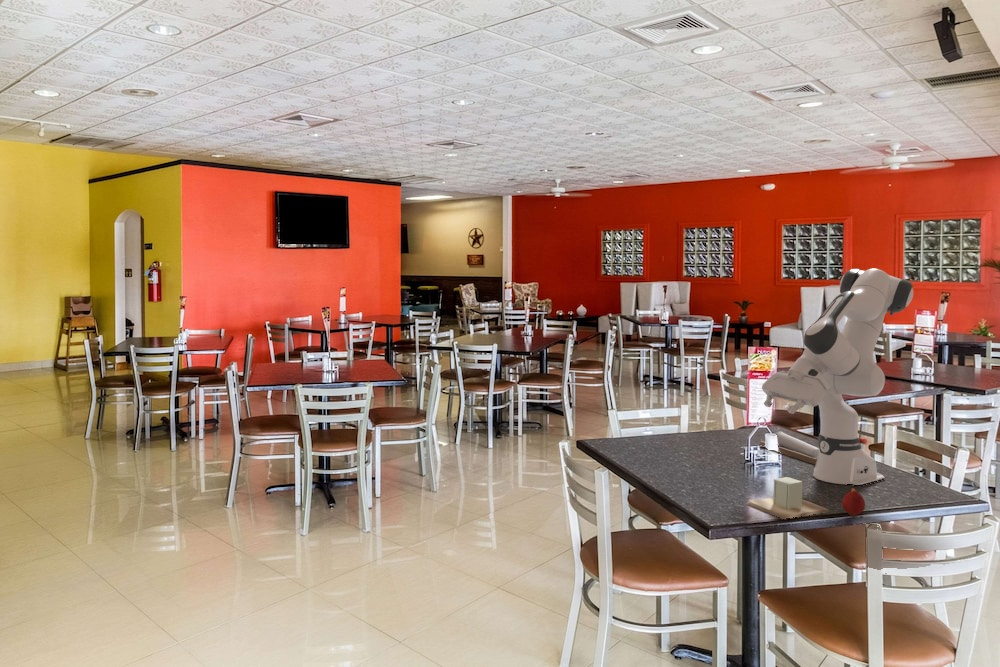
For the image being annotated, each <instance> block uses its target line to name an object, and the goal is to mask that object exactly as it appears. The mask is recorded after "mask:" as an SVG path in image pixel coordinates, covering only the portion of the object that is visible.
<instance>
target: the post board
mask: <svg viewBox="0 0 1000 667" xmlns="http://www.w3.org/2000/svg"><path fill="white" fill-rule="evenodd" d="M747 504H748V505H749V506H751V507H753V508H756V509H758V510H760V511H763V512H765V513H766V514H769V513H770V514H769V515H771V514H772V516H774V515H775V516H774V517H776V516H777V517H776V518H778V517H780V518H782V519H781V520H783V519H784V520H787V519H786V518H790V519H795V517H797V518H802V517H808V516H809V515H810V516H814V515H813V514H816V515H820V514H819V513H823V512H828V513H829V510H828V508H826V507H823V506H822V505H821V506H820V505H818V504H816V503H813V502H811V501H808V500H806V499H803V498H802V506H801V507H796V508H792V509H787V508H784V507H781V506H778V505H775V504H773V497H769V498H760V499H753V500H752V499H751V500H748V503H747ZM823 514H824V513H823ZM801 516H802V517H801ZM793 517H794V518H793ZM780 518H779V519H780Z"/></svg>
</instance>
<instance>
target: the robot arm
mask: <svg viewBox="0 0 1000 667" xmlns="http://www.w3.org/2000/svg"><path fill="white" fill-rule="evenodd" d="M839 293H840V294H838V295H837V296H836V297H835V298H834V299H832V301H831V302H830V303H829V304H828V306H827V307H826V308H825V310H824V311H823V312H822V313H821V315H819V317H818V318H817V319H816V320H815V322H813V323H812V324H810V326H809V327H808V328H807V329H806V331H805V332H804V337H803V344H804V346H805V348H804V349H803V353H801V356H800V357H798V358H797V359H796V360H795V361H794V362H793V364H792V365H791V366H790V368H789V369H788V370H787V371H785V370H780V371H776V372H774V373H772V374H771V375H770V376H769V378H767V379H766V381H764V383H763V384H762V385H761V389H762V391H763V392H764V393H765V395H766V399H765V401H764V402H763V405H764V406H765V407H767V408H771V407H772V406H773V405H774V404H773V402H772V401H773V400H774V399H775V398H777V399H781V400H786V401H789V402H793V403H794V404H793V405H789V406H788V408H787V412H788V413H789V414H791V415H792V414H793V415H794V414H795V413H796V412H797V411H798V410H800V409H803V408H804V406H808V407H811V408H812V407H813V408H814V407H817V406H818V408H819V413H820V415H819V416H820V432H819V434H818V442H817V445H818V448H819V449H818V454H817V460H816V464H815V467H814V468H813V474H812V476H813V477H814V478H815V479H817V480H820V481H822V482H825V483H831V484H836V485H837V484H838V485H847V484H854V485H860V484H864V483H868V482H871V481H875V480H879V479H882V478H885V476H884V475H883V474H881V473H879V472H878V471H877V470H878V469H877V462H876V460H875V459H874V458H873V457H872V456H871V455H870V454H868V452H866V451H865V450H864V449H862V445H867V443H868V442H869V441H868V439H867V438H865V437H862V436H861V437H858V433H859V431H858V430H859V415H858V412H857V411H856V410H855V409H854V408H853V407H852V406H850V405H848V404H847V402H845V400H844V398H843V395H844V396H852V397H861V398H862V397H876V396H878V395H879V394H880V393H881V392H882V391H883V389H884V387H885V383H886V376H885V373H884V371H883V370H882V367H880V366H879V365H878V364H877V363H876V362H875V360H874V355H873V354H874V351H875V348H876V345H877V343H878V340H879V338H880V335H881V332H882V329H883V324H884V321H885V320H884V319H885V316H886V314H887V313H889V316H890V317H891V316H893V315H894V314H897V313H900V312H902V311H903V310H905V309H906V308H907V307H908V306H909V305H910V303H911V302H912V300H913V297H914V285H913V284H912V282H910V281H909V280H906V279H904V278H898V277H896V276H892V275H890V274H888V273H887V272H886V271H884V270H882V269H879V268H869V269H865V270H862V269H860V268H851V269H849V270H847V271H845V273H844V275H842V277H841V279H840V282H839ZM844 317H846V318H847V320H846V322H845V324H844V326H843V329H842V331H841V330H840V329H839V326H838V324H839V323H840V321H841V320H842V318H844ZM854 485H853V486H854Z"/></svg>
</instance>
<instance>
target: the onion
mask: <svg viewBox="0 0 1000 667" xmlns="http://www.w3.org/2000/svg"><path fill="white" fill-rule="evenodd" d="M841 507H842V509H843V510H844V511H845V512H846V513H847V514H848V515H849V516H850V517H851V516H852V517H851V518H854V517H856V516H858V515H860V514H862V513H863V512H864V510H865V508H866V501H865V499H864V497H863V495H861V494H860V493H859V492H858V491H857V490H856V489H855V488H850V491H848V492H847V493H846V494H844V496H843V497H842V500H841Z"/></svg>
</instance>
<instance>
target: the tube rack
mask: <svg viewBox="0 0 1000 667" xmlns="http://www.w3.org/2000/svg"><path fill="white" fill-rule="evenodd" d="M765 442H766V441H764V440H760V441H759V446H760V445H762V446H764V445H765ZM779 450H780V452H781V453H780V454H782V455H785V456H788V457H791V458H793V459H794V458H795V459H797V460H800V461H803V462H805V463H810V464H813V465H816V460H817V458H814V457H811V456H808V455H804V454H801V453H798V452H795V451H792V450H790V449H788V448H785V447H783V446H779Z"/></svg>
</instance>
